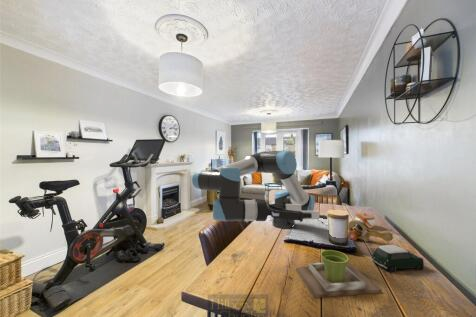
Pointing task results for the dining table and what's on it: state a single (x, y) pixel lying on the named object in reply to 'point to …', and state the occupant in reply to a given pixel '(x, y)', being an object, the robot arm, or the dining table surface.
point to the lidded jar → (369, 218)
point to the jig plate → (325, 288)
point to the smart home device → (323, 216)
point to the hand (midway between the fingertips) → (309, 210)
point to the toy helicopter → (366, 230)
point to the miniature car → (396, 258)
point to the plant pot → (334, 265)
